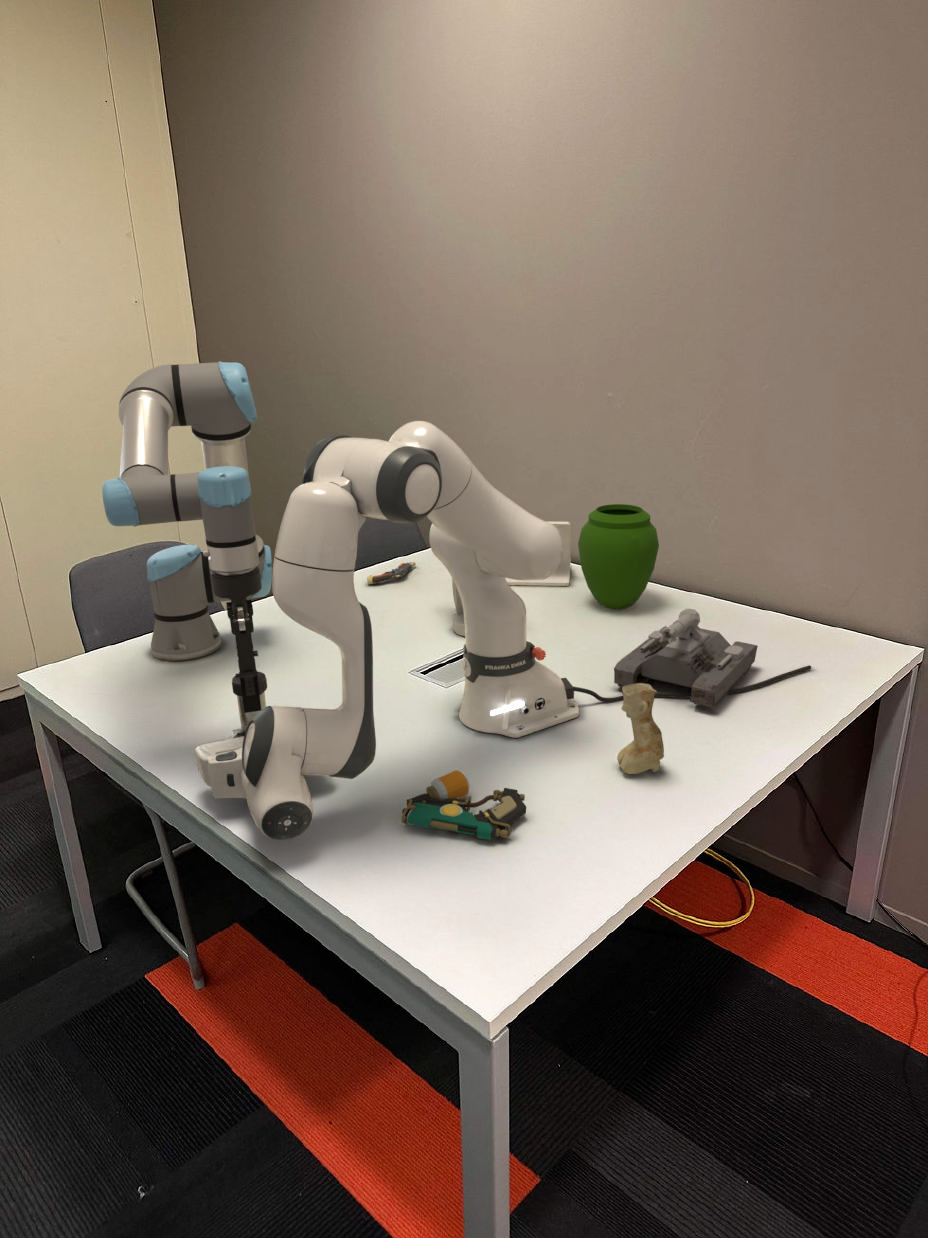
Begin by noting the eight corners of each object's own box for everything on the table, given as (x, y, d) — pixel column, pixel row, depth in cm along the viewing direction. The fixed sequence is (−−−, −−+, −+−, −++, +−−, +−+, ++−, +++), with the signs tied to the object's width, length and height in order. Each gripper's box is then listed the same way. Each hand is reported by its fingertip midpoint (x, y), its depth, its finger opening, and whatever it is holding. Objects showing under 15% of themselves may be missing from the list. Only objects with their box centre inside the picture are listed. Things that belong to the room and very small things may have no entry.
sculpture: (613, 761, 142) (616, 680, 137) (655, 758, 143) (660, 676, 138) (623, 780, 137) (627, 695, 132) (667, 776, 138) (672, 692, 132)
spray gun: (537, 812, 130) (487, 868, 119) (446, 778, 138) (391, 827, 127) (539, 789, 129) (488, 844, 117) (446, 756, 137) (390, 804, 125)
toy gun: (364, 577, 233) (399, 574, 231) (383, 561, 251) (416, 558, 249) (366, 586, 234) (400, 583, 232) (384, 570, 252) (417, 567, 250)
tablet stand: (569, 585, 229) (570, 524, 223) (476, 584, 232) (475, 523, 226) (570, 566, 246) (571, 508, 240) (484, 564, 249) (483, 507, 243)
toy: (664, 648, 187) (668, 583, 182) (755, 667, 176) (762, 599, 171) (612, 690, 168) (615, 619, 163) (711, 715, 157) (717, 639, 152)
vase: (599, 587, 227) (601, 497, 218) (668, 600, 216) (673, 505, 208) (562, 608, 212) (564, 513, 204) (634, 623, 202) (639, 523, 193)
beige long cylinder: (278, 764, 145) (268, 680, 140) (256, 775, 142) (245, 689, 136) (263, 756, 148) (252, 673, 142) (241, 766, 145) (229, 681, 139)
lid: (255, 679, 144) (254, 668, 143) (273, 689, 140) (272, 677, 139) (226, 690, 140) (225, 678, 139) (244, 700, 136) (242, 688, 136)
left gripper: (209, 555, 140) (227, 683, 148) (210, 588, 123) (230, 731, 132) (256, 550, 142) (271, 677, 150) (263, 582, 125) (279, 724, 133)
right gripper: (332, 736, 134) (314, 701, 146) (198, 764, 127) (190, 724, 139) (336, 772, 136) (317, 734, 148) (203, 800, 129) (195, 758, 141)
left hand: (251, 702), depth 141 cm, fingers closed on lid, 5 cm apart
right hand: (254, 729), depth 143 cm, fingers closed on beige long cylinder, 4 cm apart
